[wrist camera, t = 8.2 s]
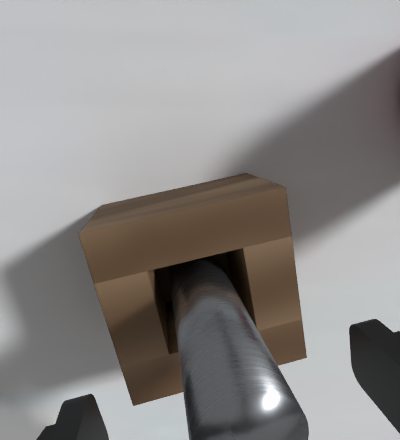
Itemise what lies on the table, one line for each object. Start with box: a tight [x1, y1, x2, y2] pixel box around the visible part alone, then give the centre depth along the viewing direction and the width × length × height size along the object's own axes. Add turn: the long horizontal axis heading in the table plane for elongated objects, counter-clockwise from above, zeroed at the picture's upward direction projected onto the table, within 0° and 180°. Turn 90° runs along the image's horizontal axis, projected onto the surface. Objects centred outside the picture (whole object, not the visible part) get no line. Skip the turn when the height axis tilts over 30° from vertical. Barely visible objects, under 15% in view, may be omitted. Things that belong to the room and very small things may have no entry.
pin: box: [168, 255, 309, 440], centre depth 13 cm, size 3×3×12 cm
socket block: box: [78, 173, 307, 406], centre depth 17 cm, size 9×9×6 cm
